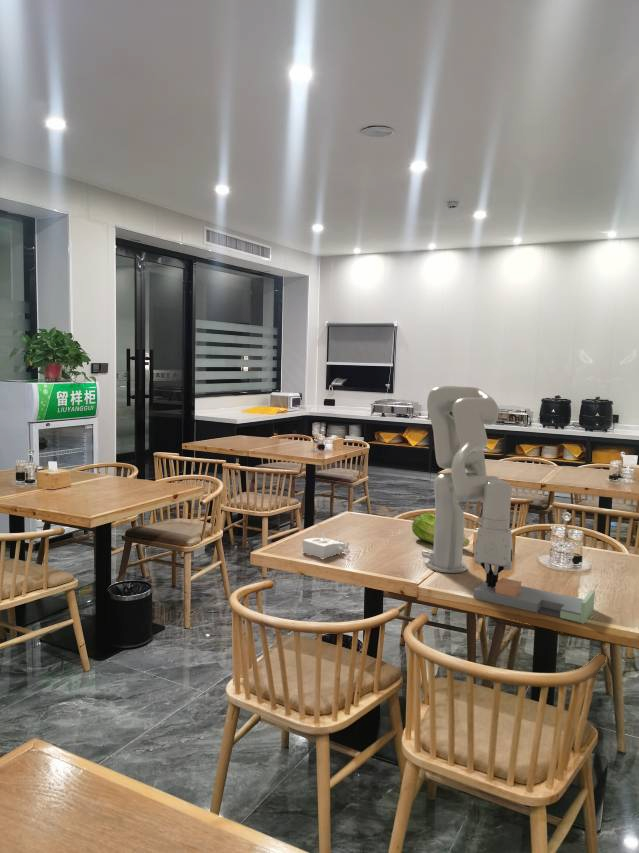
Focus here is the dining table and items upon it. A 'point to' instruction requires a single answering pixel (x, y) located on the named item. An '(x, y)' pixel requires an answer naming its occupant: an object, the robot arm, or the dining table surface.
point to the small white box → (324, 547)
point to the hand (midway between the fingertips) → (491, 586)
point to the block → (508, 587)
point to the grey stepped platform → (542, 602)
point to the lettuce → (428, 528)
